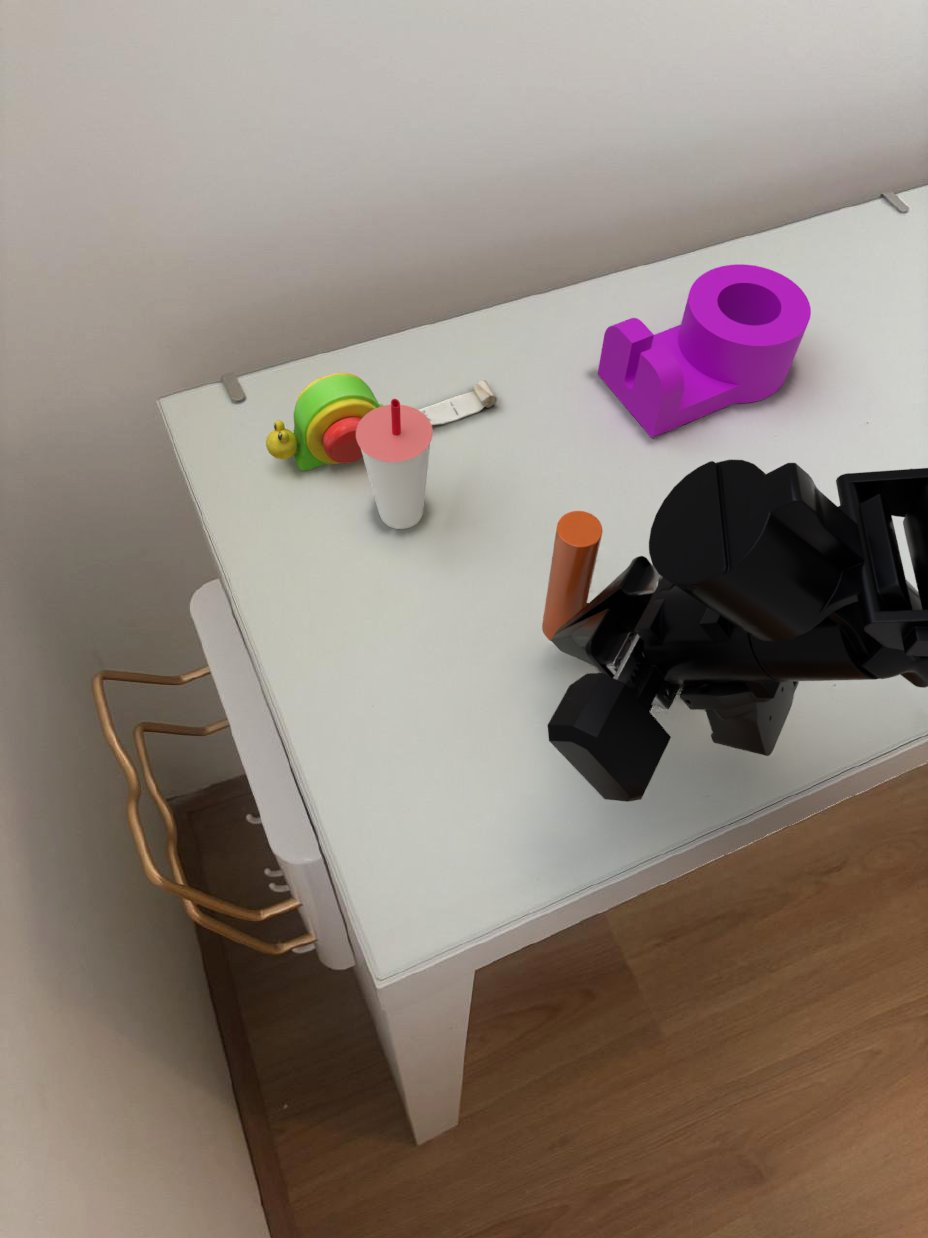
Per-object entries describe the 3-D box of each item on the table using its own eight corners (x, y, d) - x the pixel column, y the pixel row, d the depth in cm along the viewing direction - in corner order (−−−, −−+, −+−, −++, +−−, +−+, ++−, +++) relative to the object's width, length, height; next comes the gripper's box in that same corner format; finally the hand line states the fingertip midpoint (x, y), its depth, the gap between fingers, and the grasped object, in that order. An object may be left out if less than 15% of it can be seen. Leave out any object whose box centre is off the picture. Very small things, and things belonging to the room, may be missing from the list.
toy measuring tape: (260, 441, 75) (244, 381, 70) (477, 374, 79) (478, 313, 74) (284, 497, 72) (269, 439, 67) (508, 424, 76) (511, 364, 71)
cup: (446, 526, 71) (444, 415, 61) (381, 548, 70) (367, 439, 59) (420, 477, 73) (413, 362, 63) (357, 497, 72) (340, 385, 62)
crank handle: (720, 594, 64) (768, 485, 54) (733, 633, 62) (785, 529, 52) (537, 615, 63) (552, 508, 53) (545, 655, 61) (562, 553, 51)
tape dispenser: (741, 310, 84) (760, 250, 78) (810, 378, 79) (836, 320, 74) (592, 368, 80) (602, 310, 74) (657, 444, 75) (672, 387, 70)
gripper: (795, 880, 44) (565, 842, 56) (901, 594, 52) (681, 615, 65) (674, 738, 39) (452, 730, 51) (812, 449, 48) (593, 502, 60)
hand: (557, 641), depth 57 cm, fingers closed
